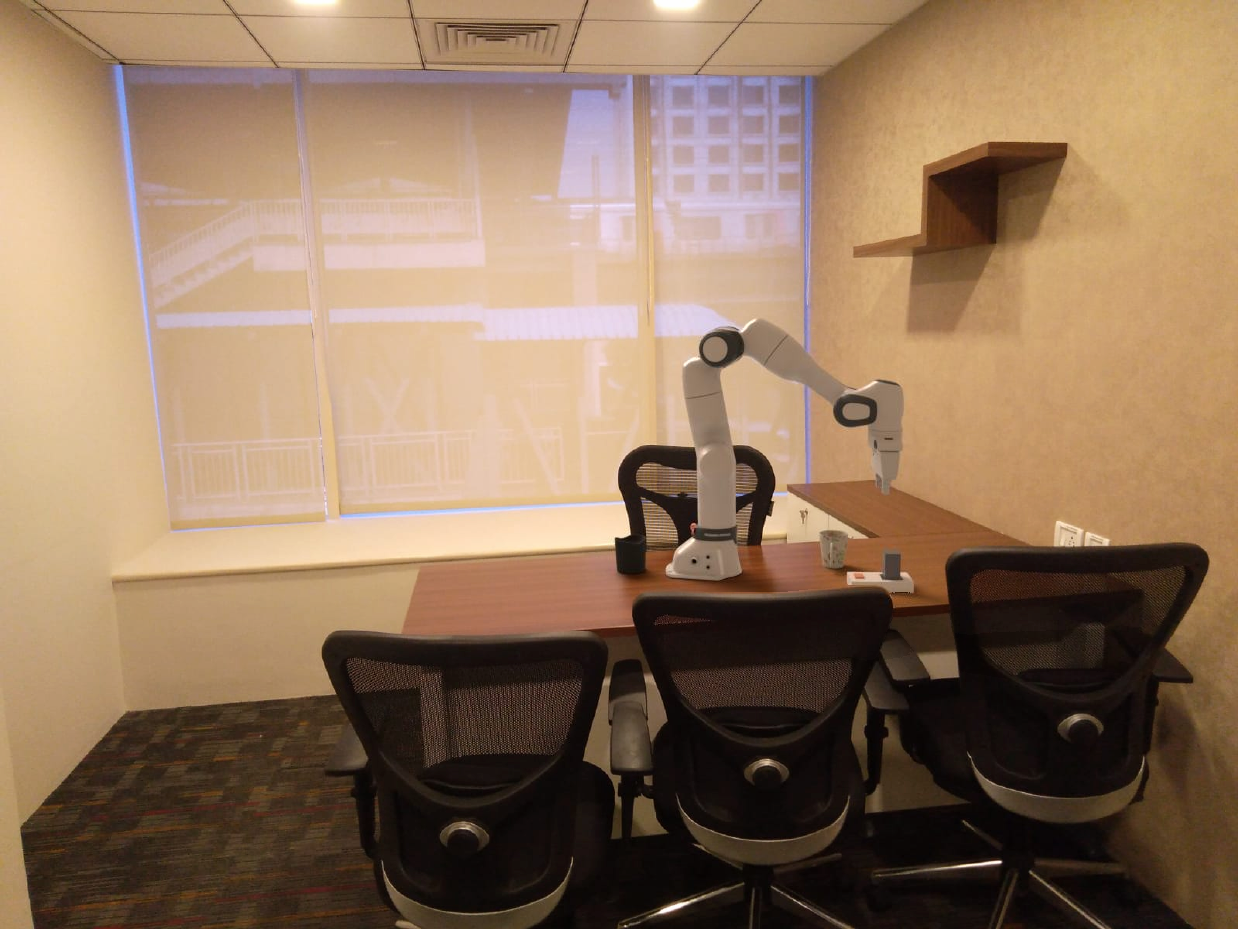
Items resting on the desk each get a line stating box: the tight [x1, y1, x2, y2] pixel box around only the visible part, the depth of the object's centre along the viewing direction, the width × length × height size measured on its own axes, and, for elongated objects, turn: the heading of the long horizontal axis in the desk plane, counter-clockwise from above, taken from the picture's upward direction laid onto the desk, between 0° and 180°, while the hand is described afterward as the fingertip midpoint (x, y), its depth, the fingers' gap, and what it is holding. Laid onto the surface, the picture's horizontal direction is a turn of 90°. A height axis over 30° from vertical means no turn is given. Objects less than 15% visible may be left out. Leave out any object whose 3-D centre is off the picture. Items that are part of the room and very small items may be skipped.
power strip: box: [846, 571, 915, 594], centre depth 219 cm, size 16×9×4 cm, turn 82°
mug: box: [818, 529, 849, 569], centre depth 238 cm, size 8×13×10 cm, turn 164°
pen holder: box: [614, 534, 647, 575], centre depth 243 cm, size 9×9×10 cm
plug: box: [881, 549, 902, 580], centre depth 218 cm, size 4×4×10 cm
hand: (882, 490), depth 219 cm, fingers open, 8 cm apart
